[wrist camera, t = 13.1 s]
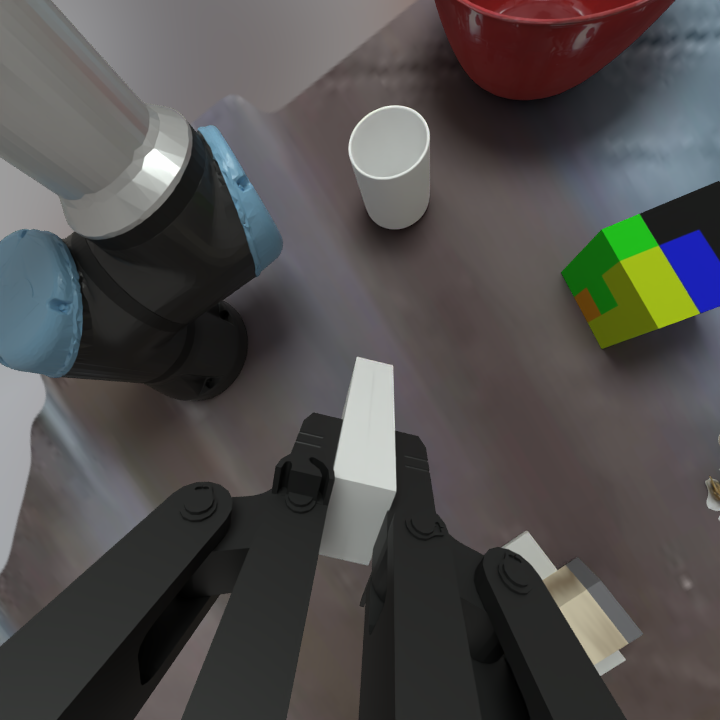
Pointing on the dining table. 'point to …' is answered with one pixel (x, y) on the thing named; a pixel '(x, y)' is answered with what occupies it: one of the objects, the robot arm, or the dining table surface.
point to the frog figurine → (713, 492)
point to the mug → (392, 165)
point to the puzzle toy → (650, 268)
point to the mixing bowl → (541, 40)
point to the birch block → (591, 610)
